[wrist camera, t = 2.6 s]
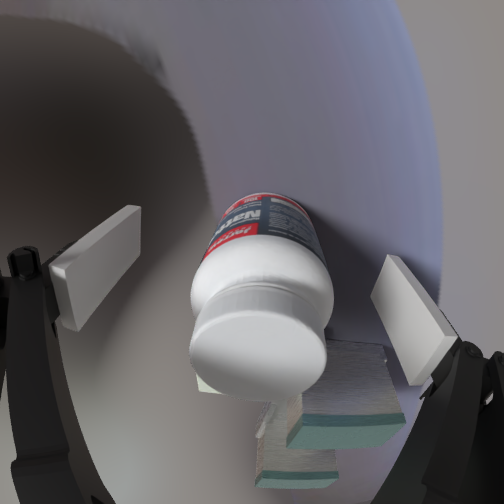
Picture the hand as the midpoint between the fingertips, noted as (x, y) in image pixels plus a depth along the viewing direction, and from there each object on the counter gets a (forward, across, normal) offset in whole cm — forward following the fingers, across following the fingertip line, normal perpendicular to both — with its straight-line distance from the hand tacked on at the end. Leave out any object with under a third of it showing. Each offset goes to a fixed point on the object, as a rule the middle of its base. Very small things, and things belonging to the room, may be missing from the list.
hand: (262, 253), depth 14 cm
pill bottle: (+2, 0, 0) cm, 2 cm away
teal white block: (+2, +7, -13) cm, 15 cm away
